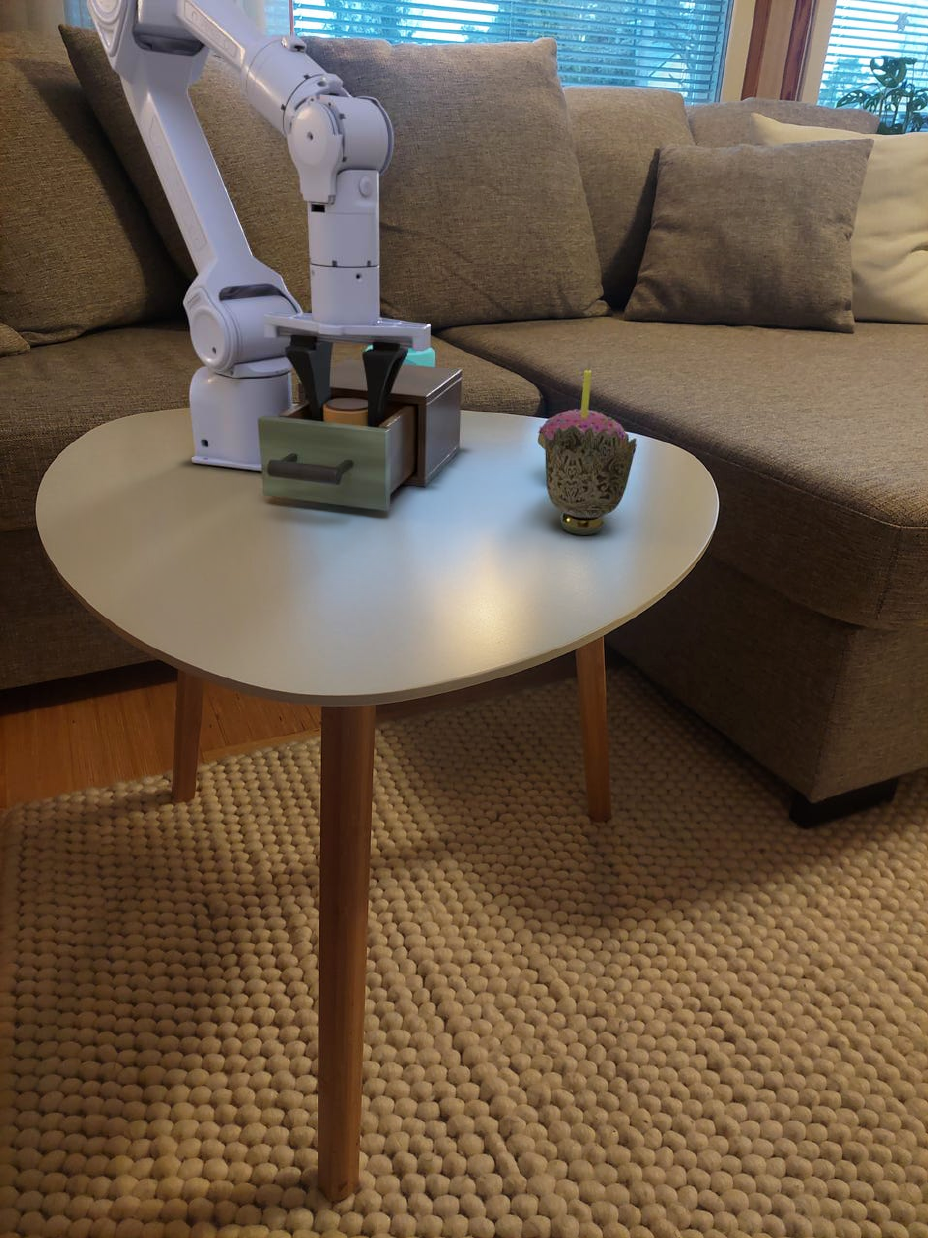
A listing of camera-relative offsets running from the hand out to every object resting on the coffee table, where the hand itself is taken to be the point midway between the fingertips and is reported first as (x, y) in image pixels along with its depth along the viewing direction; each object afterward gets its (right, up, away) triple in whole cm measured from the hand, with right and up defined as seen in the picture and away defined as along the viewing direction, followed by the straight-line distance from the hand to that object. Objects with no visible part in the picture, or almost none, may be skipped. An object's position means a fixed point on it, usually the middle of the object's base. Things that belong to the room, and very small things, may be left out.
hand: (348, 426), depth 79 cm
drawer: (-1, -6, 0) cm, 6 cm away
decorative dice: (+3, +7, +27) cm, 28 cm away
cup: (+20, -10, -4) cm, 23 cm away
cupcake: (+22, -4, +7) cm, 23 cm away
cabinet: (+2, -1, +11) cm, 11 cm away
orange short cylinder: (0, -1, +1) cm, 1 cm away
